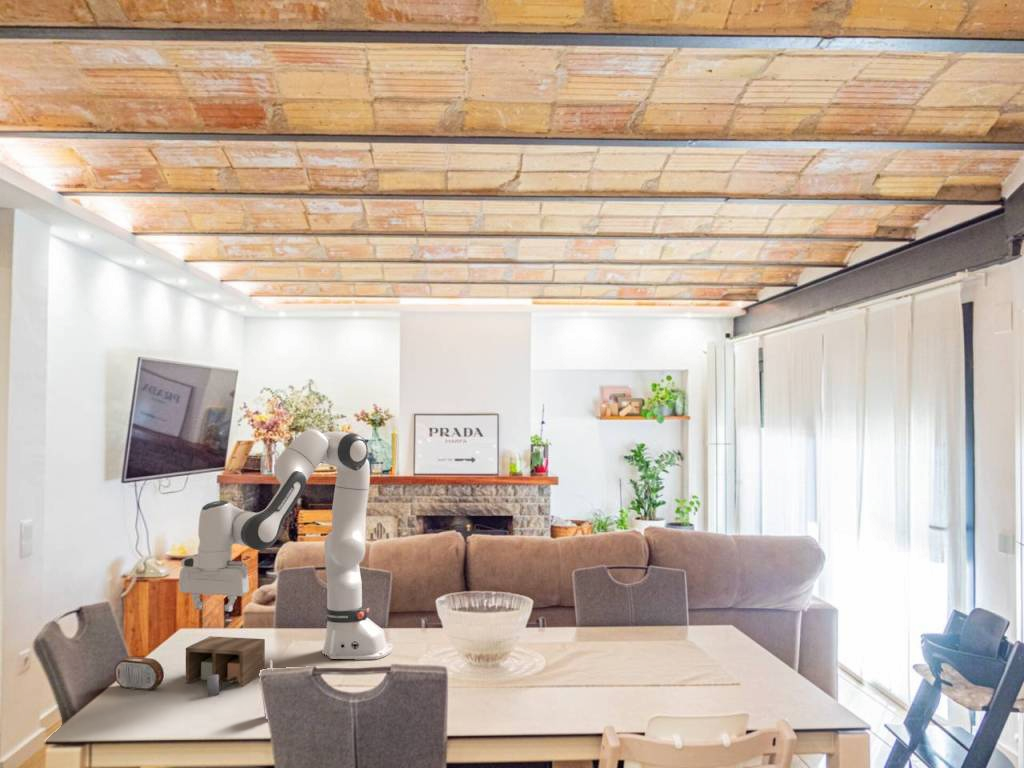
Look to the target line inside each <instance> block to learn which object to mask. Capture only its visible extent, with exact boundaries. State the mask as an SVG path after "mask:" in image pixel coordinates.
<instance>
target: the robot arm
mask: <svg viewBox="0 0 1024 768" xmlns="http://www.w3.org/2000/svg"><path fill="white" fill-rule="evenodd" d="M368 451H369V449H368V443H367V442H366V439H365V438H364V437H363V436H361V435H359V434H357V433H349V432H347V431H346V432H345V431H341V430H340V431H326V430H324V431H323V430H322V431H320V430H318V429H315V428H314V429H313V428H310V429H306V430H304V431H303V432H301V433H300V434H299V435H298V436H296V438H295V439H293V440H292V442H290V443H289V444H288V445H287V447H286V448H285V449H284V450H283V451H282V453H281V454H280V455H279V456H278V457H277V459H276V461H275V463H274V466H273V470H274V471H273V472H274V473H273V474H274V476H275V478H276V479H277V481H278V482H279V483H280V485H279V488H278V490H277V492H276V493H275V494H274V495H273V498H272V499H271V500H270V502H269V503H268V505H267V506H266V508H265V509H263V510H261V511H258V512H254V511H250V510H249V511H248V510H246V509H242V508H239V507H237V506H235V505H233V504H232V503H231V502H229V501H228V500H218V501H217V500H215V501H211V502H209V503H207V504H205V505H203V506H202V508H201V510H200V513H199V517H198V538H199V539H198V540H199V544H198V548H197V554H194V555H192V556H188V557H186V558H183V559H181V563H180V566H181V567H182V568H181V569H180V572H179V578H178V588H179V590H180V592H181V593H185V594H190V597H191V599H192V602H193V604H194V610H202V609H203V608H204V602H203V601H201V599H200V596H201V595H214V596H215V595H216V596H227V600H228V603H227V604H224V605H223V606H224V609H223V610H224V612H228V613H229V612H233V607H234V604H235V602H236V600H237V598H238V597H242V596H245V595H247V594H248V593H249V589H250V583H249V574H248V573H249V568H248V566H247V564H246V563H244V562H243V561H239V560H238V561H236V560H235V561H234V560H232V547H233V545H240V546H244V547H248V548H251V549H253V550H255V551H263V550H267V549H269V548H270V547H272V546H273V545H274V544H275V543H276V541H277V539H278V538H279V536H280V533H281V529H282V526H283V524H284V523H285V521H286V519H287V518H288V516H289V515H290V513H291V512H292V510H293V508H294V507H295V505H296V504H297V502H298V501H299V499H300V498H301V495H302V494H303V492H304V491H305V488H306V486H307V482H308V480H309V479H310V477H311V476H312V474H313V473H314V472H315V471H316V469H317V468H319V467H318V466H320V464H321V465H322V464H325V465H329V466H332V467H333V466H334V467H335V468H336V472H337V474H336V479H335V487H334V492H333V493H334V494H333V500H332V508H331V515H332V516H331V531H330V532H329V533H328V534H327V535H326V537H325V539H324V543H323V544H324V546H323V547H324V563H325V564H324V565H325V576H326V584H327V585H326V593H327V595H326V596H327V597H326V598H327V599H326V601H327V602H326V604H327V605H326V608H325V623H326V632H325V641H324V645H323V648H322V651H321V652H322V655H324V654H325V655H324V656H326V655H327V656H326V657H328V656H329V657H328V659H329V658H331V659H355V660H378V659H382V658H384V657H386V656H388V655H389V654H390V653H392V651H393V650H394V645H393V644H392V643H387V639H386V635H385V631H384V629H383V628H381V626H379V625H377V624H376V623H375V622H374V621H372V620H371V619H370V618H369V617H368V613H369V612H370V608H369V607H368V608H365V606H364V605H363V587H362V585H363V584H362V583H363V581H362V577H361V569H360V564H361V562H363V560H364V558H365V556H366V540H367V538H366V537H367V536H366V534H367V510H368V501H369V493H370V486H371V485H370V482H371V468H370V467H371V466H370V461H369V459H368V455H369V452H368ZM331 659H330V660H331Z"/></svg>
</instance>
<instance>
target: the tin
mask: <svg viewBox="0 0 1024 768" xmlns="http://www.w3.org/2000/svg"><path fill="white" fill-rule="evenodd" d="M164 675H165V674H164V668H163V667H162V665H161V663H160V662H159V661H158V660H156V659H154V658H147V657H139V656H138V657H137V656H126V657H124V658H123V659H121V660H120V661H118V662H116V665H115V666H114V678H115V681H116V682H117V684H118V685H119V686H120V687H122V688H124V687H126V688H125V689H131V688H134V689H133V690H140V689H143V691H151V690H153V689H155V688H158V687H159V686H160V685H161V684H162V683H163V681H164V677H165V676H164Z"/></svg>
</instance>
